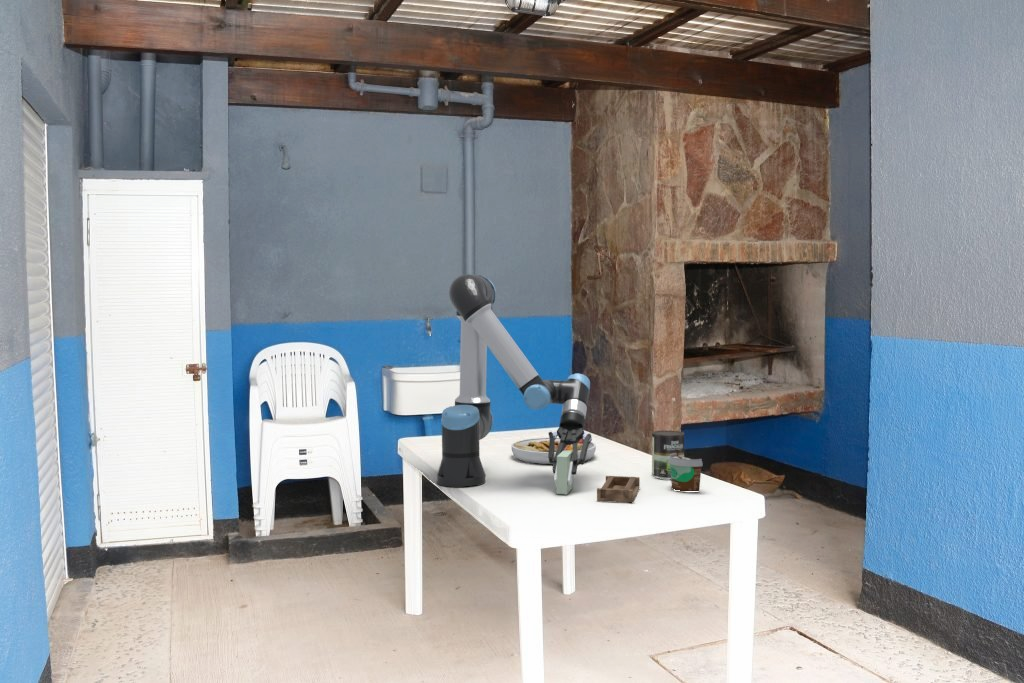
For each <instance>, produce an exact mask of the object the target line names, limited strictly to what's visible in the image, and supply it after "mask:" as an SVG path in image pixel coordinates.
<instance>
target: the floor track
mask: <svg viewBox="0 0 1024 683" xmlns="http://www.w3.org/2000/svg"><path fill="white" fill-rule="evenodd" d="M640 479H641V478H640V477H639V476H623V475H622V476H620V475H605V482H604V483H603V485H602V486H601V487H597V488H596V502H600V501H616V502H615V503H619V502H633V503H634V501H635V500H636V497H637V495H638V493H639V491H640V489H639V488H641V487H640V484H641V482H640ZM638 490H639V491H638ZM637 492H638V493H637ZM636 494H637V495H636Z"/></svg>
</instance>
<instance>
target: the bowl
mask: <svg viewBox="0 0 1024 683" xmlns="http://www.w3.org/2000/svg"><path fill="white" fill-rule="evenodd" d="M583 438H584V437H583ZM583 438H582V439H581V440H580V441H579V442H578V443H577V451H578V459H579V458H580V454H581V450H582V445H583V441H584V439H583ZM554 441H555V448H554V457H555V454H556V452H557V449H558V446H559V444H560V438H559V437H556V440H554ZM549 443H550V438H549V437H541V438H540V437H538V438H530V439H522V440H518V441H514V442H512V444H511V452H512V455H513V456H514V457H515V458H516V459H518V460H519V461H522V462H524V461H525V463H528V462H530V463H529V464H534V463H539V464H538V465H545V464H553V463H550V462H549V458H548V454H549ZM596 449H597V445H596V443H594V442H592V441H591V442H590V444H589V446H588V450H587V454H586V458H585V462H586V461H588V460H591V458H592V457H593V456H594V455H595V453H596ZM564 450H569V451H573V446H572V444H567V445H566V447H565V449H564Z"/></svg>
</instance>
